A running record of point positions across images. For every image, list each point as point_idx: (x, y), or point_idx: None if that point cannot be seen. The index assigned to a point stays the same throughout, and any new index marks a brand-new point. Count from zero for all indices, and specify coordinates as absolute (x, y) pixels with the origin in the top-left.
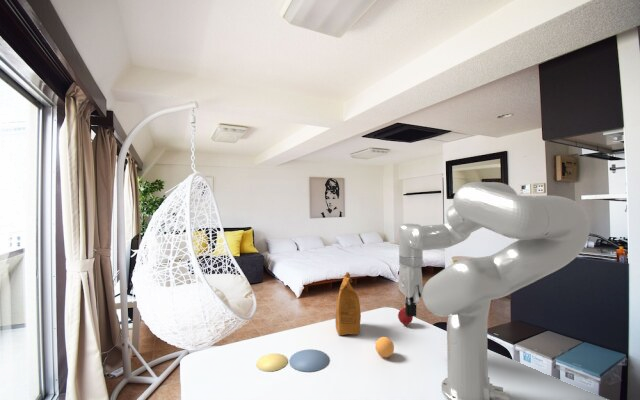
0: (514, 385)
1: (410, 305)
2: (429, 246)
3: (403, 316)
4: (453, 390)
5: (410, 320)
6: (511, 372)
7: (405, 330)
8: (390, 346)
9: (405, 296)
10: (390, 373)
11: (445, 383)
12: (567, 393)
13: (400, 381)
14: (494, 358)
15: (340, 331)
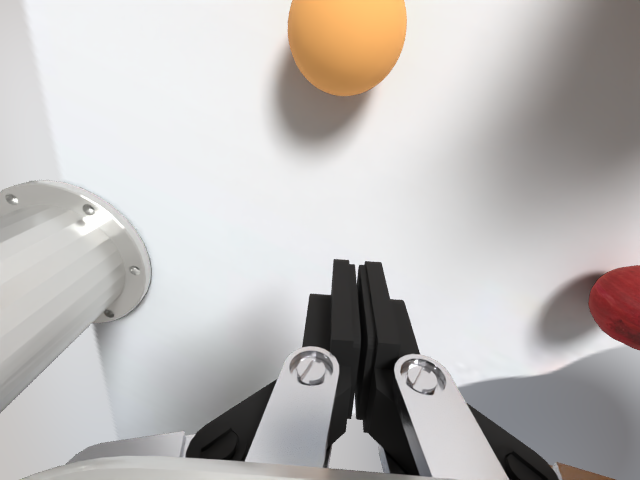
0: (141, 383)
1: (299, 361)
2: None
3: (635, 294)
4: (14, 211)
5: (593, 312)
6: (200, 410)
7: (555, 257)
8: (297, 55)
9: (447, 438)
10: (182, 8)
11: (95, 213)
12: None
13: (120, 37)
14: None
15: None
